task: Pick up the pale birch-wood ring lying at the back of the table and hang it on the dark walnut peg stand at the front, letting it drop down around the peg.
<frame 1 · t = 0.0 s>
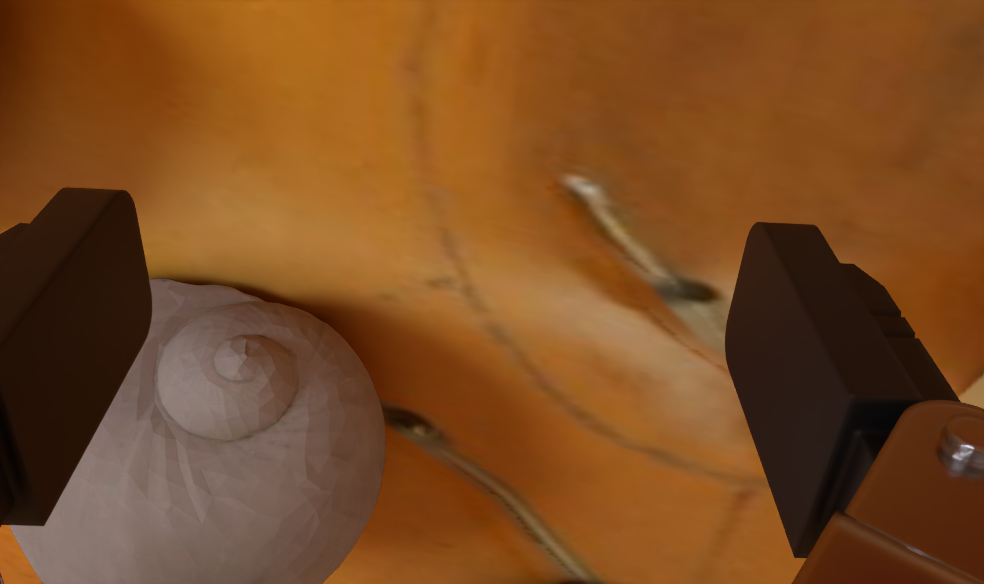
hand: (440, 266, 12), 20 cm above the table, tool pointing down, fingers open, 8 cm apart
seashell: (208, 394, 40), on the table
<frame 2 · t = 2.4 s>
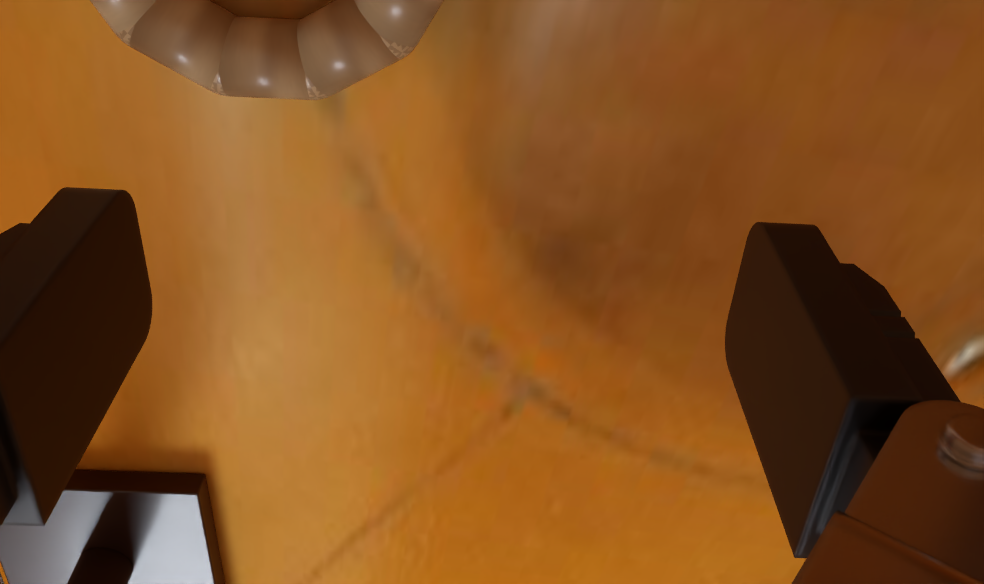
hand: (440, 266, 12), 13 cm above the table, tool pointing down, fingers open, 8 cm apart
peg stand: (115, 544, 35), on the table
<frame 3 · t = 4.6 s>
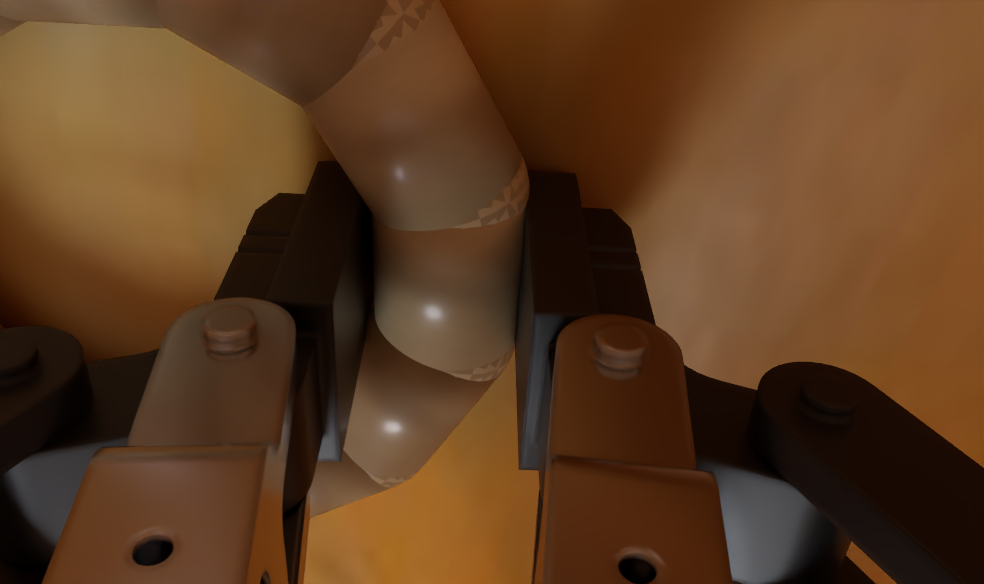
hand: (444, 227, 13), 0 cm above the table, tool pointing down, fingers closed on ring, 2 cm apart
ring: (146, 247, 12), point 1 cm above the table, touching gripper
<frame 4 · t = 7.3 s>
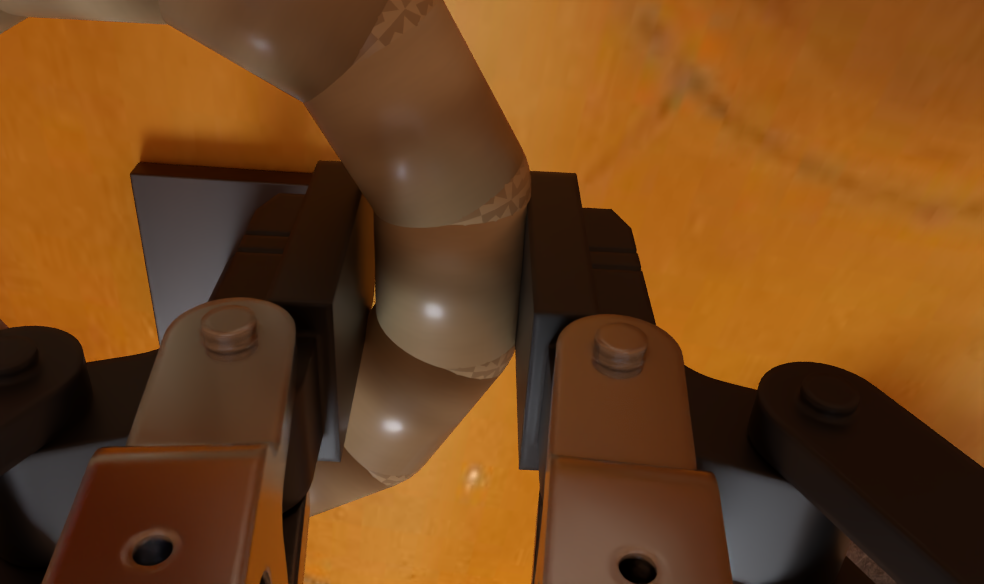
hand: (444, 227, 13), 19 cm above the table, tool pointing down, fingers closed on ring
ring: (148, 244, 12), point 20 cm above the table, touching gripper
peg stand: (256, 261, 35), on the table
fossil: (765, 561, 45), on the table
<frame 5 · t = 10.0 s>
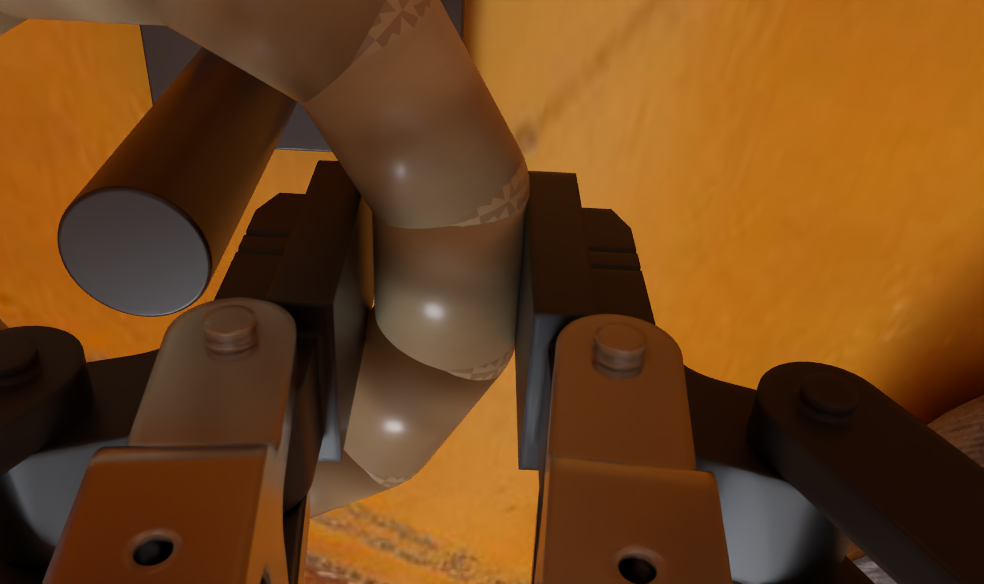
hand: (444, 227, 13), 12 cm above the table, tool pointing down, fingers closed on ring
ring: (147, 245, 12), point 13 cm above the table, touching gripper
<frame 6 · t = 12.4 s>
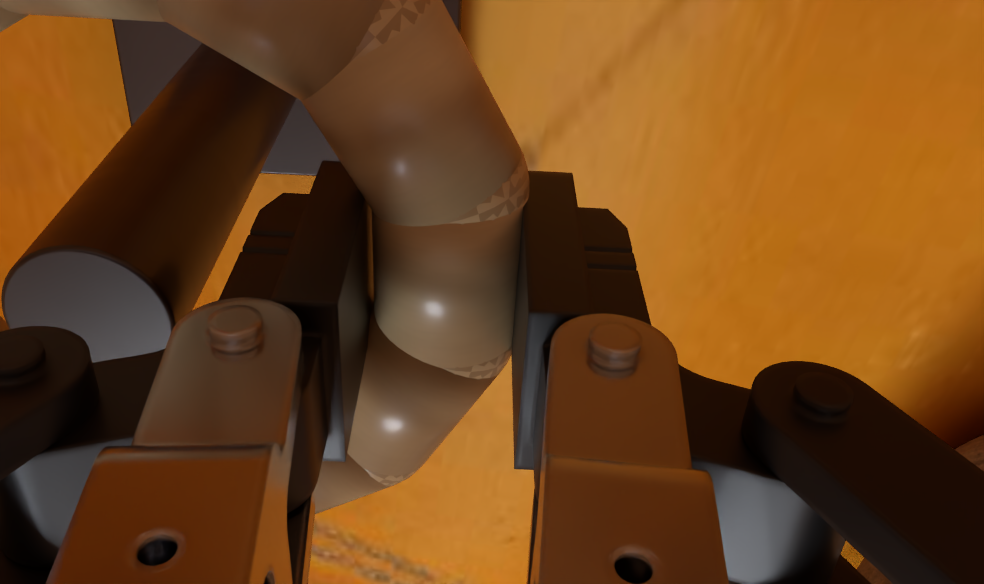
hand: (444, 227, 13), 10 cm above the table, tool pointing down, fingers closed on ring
ring: (147, 242, 12), point 11 cm above the table, touching gripper
peg stand: (293, 5, 21), on the table
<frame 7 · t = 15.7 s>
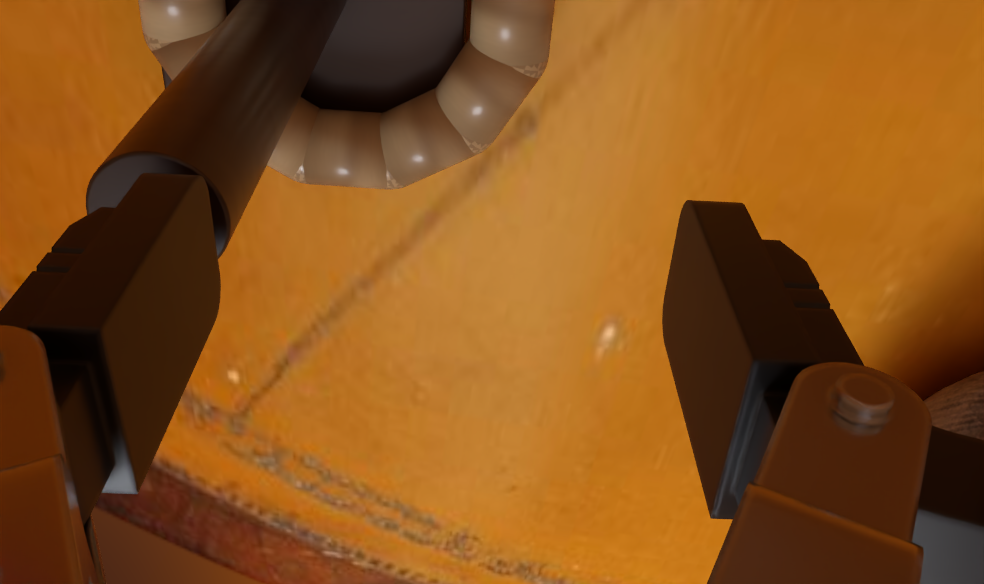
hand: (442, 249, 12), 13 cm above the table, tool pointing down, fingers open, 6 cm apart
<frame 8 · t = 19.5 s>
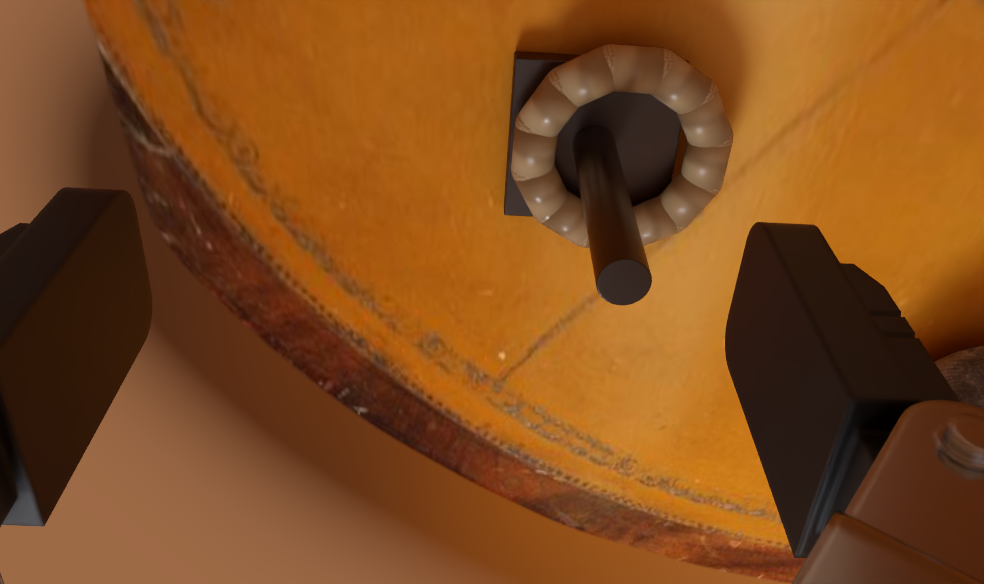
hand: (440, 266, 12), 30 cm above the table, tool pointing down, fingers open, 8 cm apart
ring: (620, 153, 41), point 2 cm above the table, touching peg stand
peg stand: (591, 136, 43), on the table
fossil: (965, 408, 53), on the table
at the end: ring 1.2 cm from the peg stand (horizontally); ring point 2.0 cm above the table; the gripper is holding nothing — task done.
